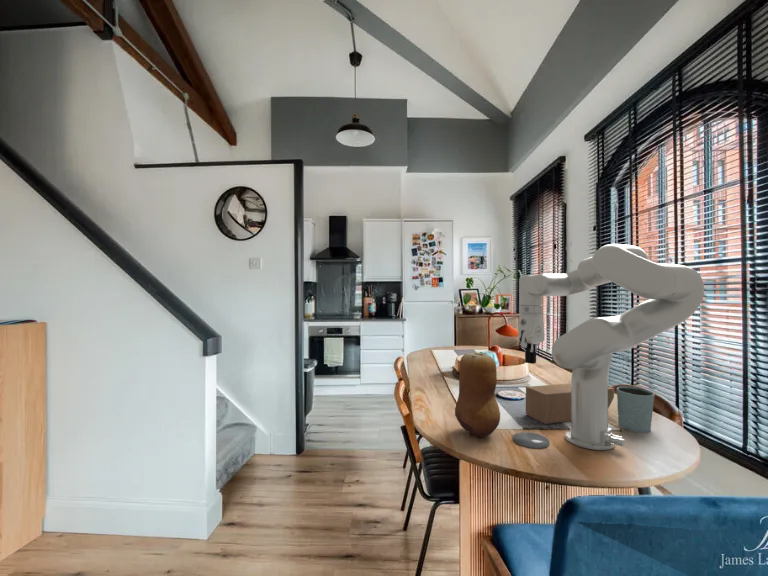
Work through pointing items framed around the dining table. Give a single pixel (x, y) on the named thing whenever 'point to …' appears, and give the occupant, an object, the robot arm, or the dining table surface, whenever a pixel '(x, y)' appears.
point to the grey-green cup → (635, 408)
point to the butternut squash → (477, 395)
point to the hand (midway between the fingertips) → (530, 362)
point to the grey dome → (531, 440)
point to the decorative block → (552, 402)
